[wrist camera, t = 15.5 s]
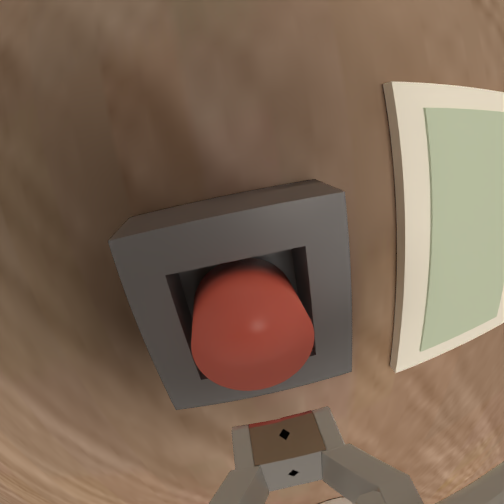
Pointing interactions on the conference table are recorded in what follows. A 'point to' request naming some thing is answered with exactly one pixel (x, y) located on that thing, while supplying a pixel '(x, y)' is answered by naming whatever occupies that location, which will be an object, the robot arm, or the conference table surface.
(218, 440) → the conference table surface
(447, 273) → the picture board
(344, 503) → the white cup
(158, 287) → the button base
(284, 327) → the button
